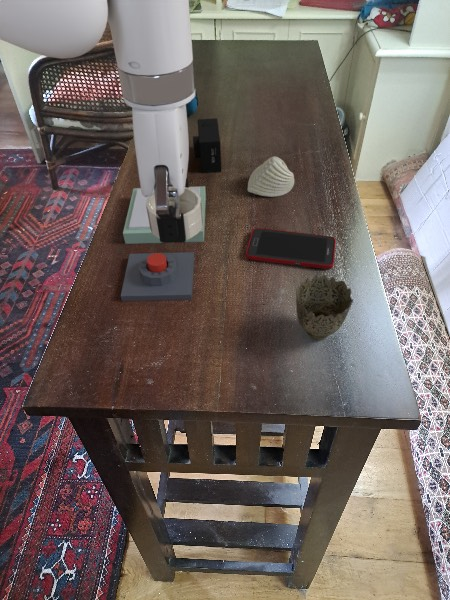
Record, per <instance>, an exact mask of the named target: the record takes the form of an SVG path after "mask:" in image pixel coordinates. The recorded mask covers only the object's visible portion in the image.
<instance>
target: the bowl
mask: <svg viewBox="0 0 450 600" xmlns="http://www.w3.org/2000/svg"><path fill="white" fill-rule="evenodd" d="M169 191H175V189H174V187H173V186H170V187H169ZM169 203H170V205H173V207H174V208H175V203H174V197H169ZM146 208H147V214H148V219H149V225H150V229H151V231H152V234H153V235H155V236H156V237H158V238H159V232H158V226H157V220H156V207H155V192H154V193H152V195H151V196H149V197H148V199H147V202H146ZM180 210H181V213H183V215H184V224H185V233H186V240H188V239H190V238H192V237H194V236H195V235H197V234H198V233H199V231H200V230H201V229H202V224H203V219H202V206H201V197H200V196H199V194H198V193H197V192H196V191H194V190H192V189H191V188H187V187H185V190H184V193H183V194H182V195H181V196H180ZM159 239H160V238H159Z"/></svg>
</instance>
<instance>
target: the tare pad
mask: <svg viewBox="0 0 450 600" xmlns="http://www.w3.org/2000/svg"><path fill="white" fill-rule="evenodd" d="M154 253H155V252H145V253H143V252H142V253H129V254H128V259H127V263H126V268H125V273H124V278H123V282H122V287H121V292H120V299H121V301H122V302H140V301H141V302H143V301H184V300H185V301H187V300H188V301H189V300H190V301H191V300H193V292H194V291H193V290H194V272H195V260H196V259H195V252H194V251H185V252H184V251H183V252H182V251H181V252H160V253H161V254H163V255H165V257H166V262H167V268H166V269H165V270H164V271H162V272H158V273H153V272H151V271H150V270H149V269H148V264H147V258H148V257H149V256H150V255H152V254H154Z"/></svg>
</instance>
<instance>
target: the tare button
mask: <svg viewBox="0 0 450 600" xmlns="http://www.w3.org/2000/svg"><path fill="white" fill-rule="evenodd" d="M153 253H154V254H152V255H150V256H149V257H148V258H147V264H148V269H149V270H150V271H151V272H153V273H158V272H162V271H164V270H165V269H166V268H167V262H166V257H165V255H163V254H161V253H162V252H153Z"/></svg>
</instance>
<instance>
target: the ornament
mask: <svg viewBox="0 0 450 600" xmlns="http://www.w3.org/2000/svg"><path fill="white" fill-rule="evenodd" d="M198 106H199V98H198V93H197V90H196V88H195V97H194V98H193V99H192V100H191V101H190V102H189V103H187V104H186V112H187V116H192V115H194V114H195V113H196V111H197V108H198Z"/></svg>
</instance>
